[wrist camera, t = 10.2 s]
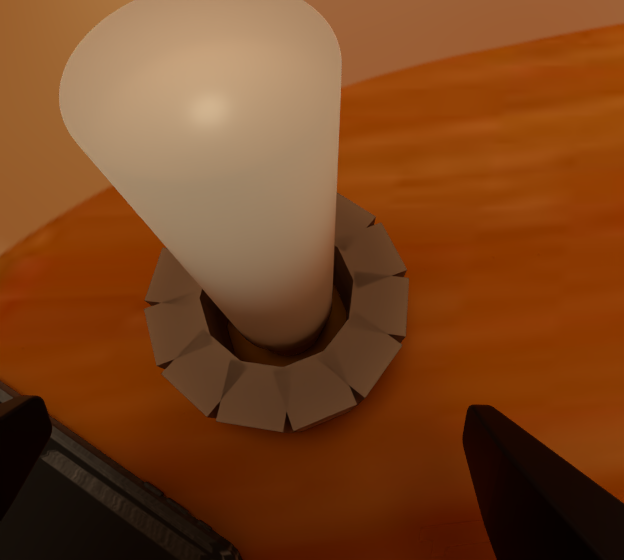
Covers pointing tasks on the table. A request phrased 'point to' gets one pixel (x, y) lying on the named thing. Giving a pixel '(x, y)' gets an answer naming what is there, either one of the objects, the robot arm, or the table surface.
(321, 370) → the segmented block ring
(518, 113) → the table surface
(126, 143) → the tapered rounded pillar
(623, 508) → the robot arm
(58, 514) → the phone
